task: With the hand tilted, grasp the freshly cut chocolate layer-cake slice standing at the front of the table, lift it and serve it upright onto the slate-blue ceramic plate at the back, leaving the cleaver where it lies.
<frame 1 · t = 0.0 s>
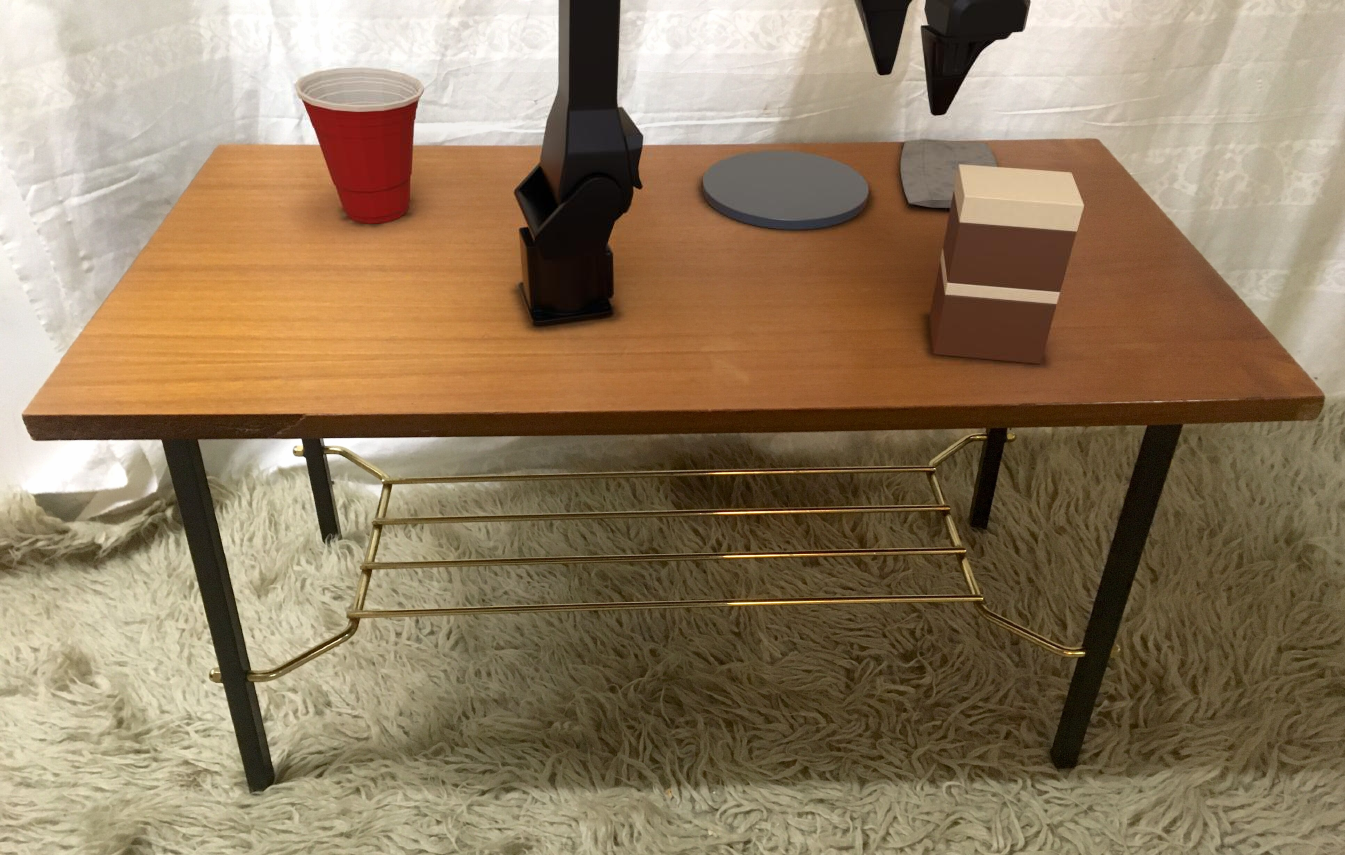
hand: (910, 93, 84), 15 cm above the table, tool pointing down, fingers open, 9 cm apart
cake slice: (983, 340, 82), on the table
plate: (784, 192, 103), on the table
plastic cup: (380, 211, 99), on the table
cleaver: (957, 207, 102), on the table
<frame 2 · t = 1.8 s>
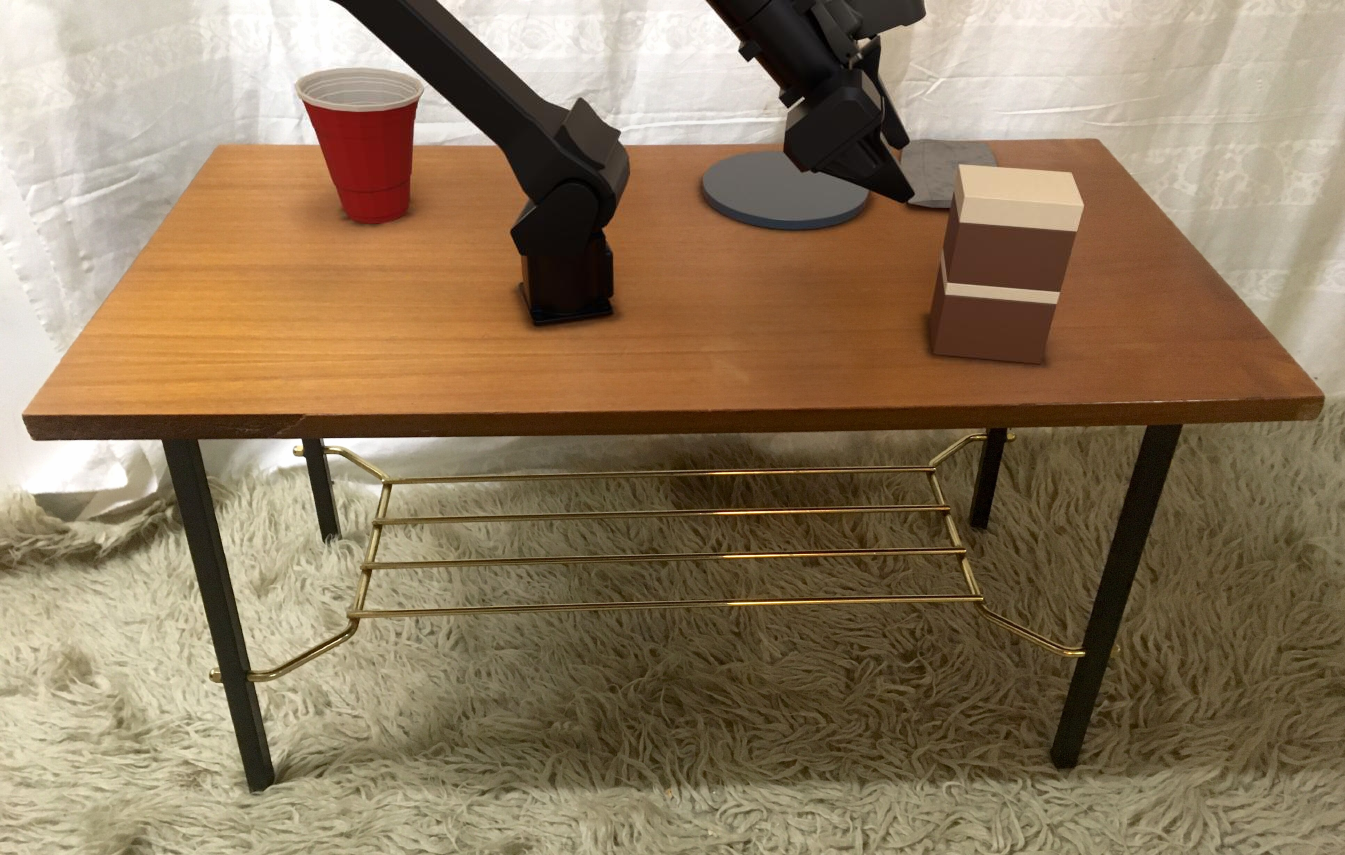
hand: (907, 171, 75), 13 cm above the table, tool tilted 45°, fingers open, 9 cm apart
nothing on the table moved.
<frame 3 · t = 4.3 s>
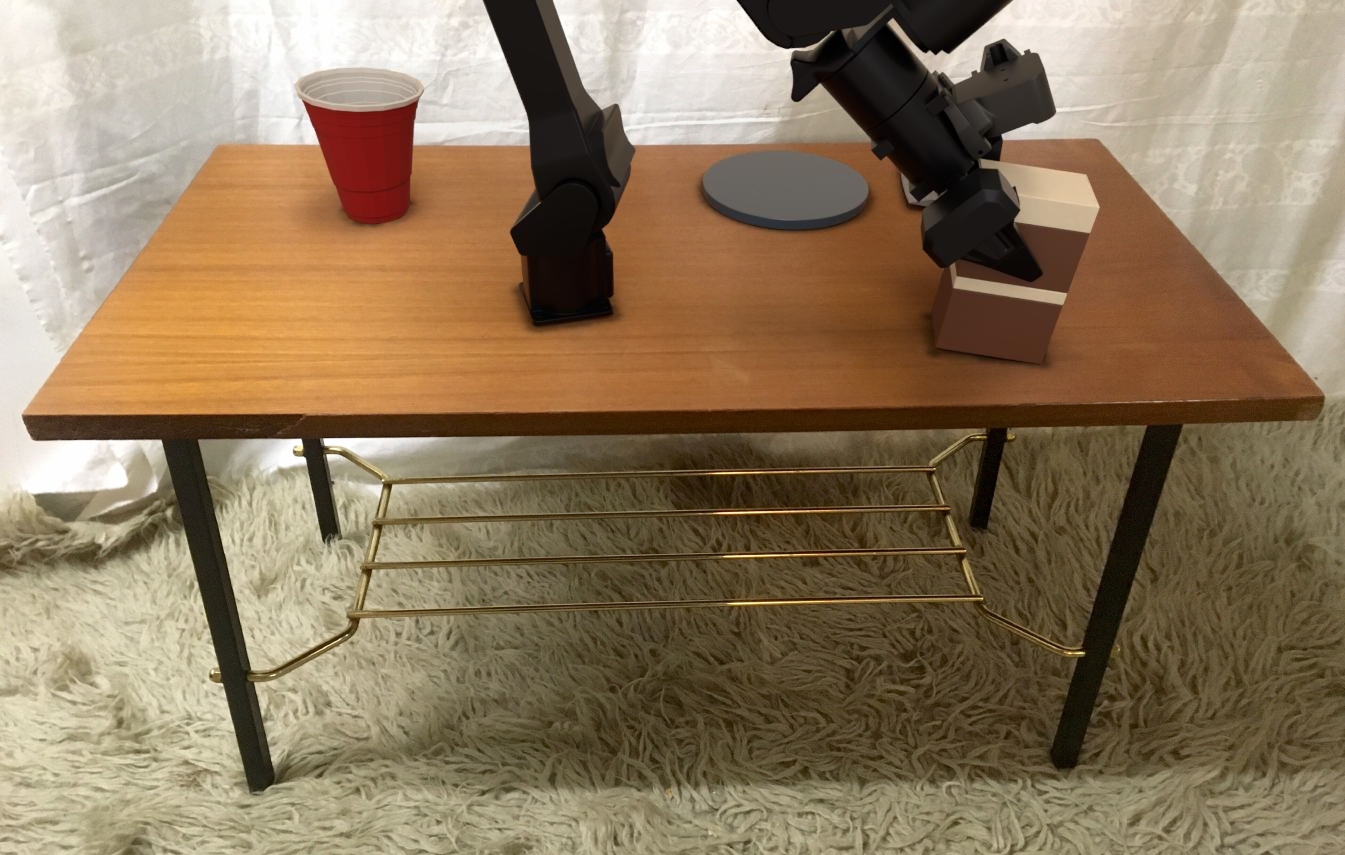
hand: (1030, 254, 77), 8 cm above the table, tool tilted 45°, fingers closed on cake slice, 7 cm apart
cake slice: (984, 337, 82), on the table, touching gripper
everything else where it was.
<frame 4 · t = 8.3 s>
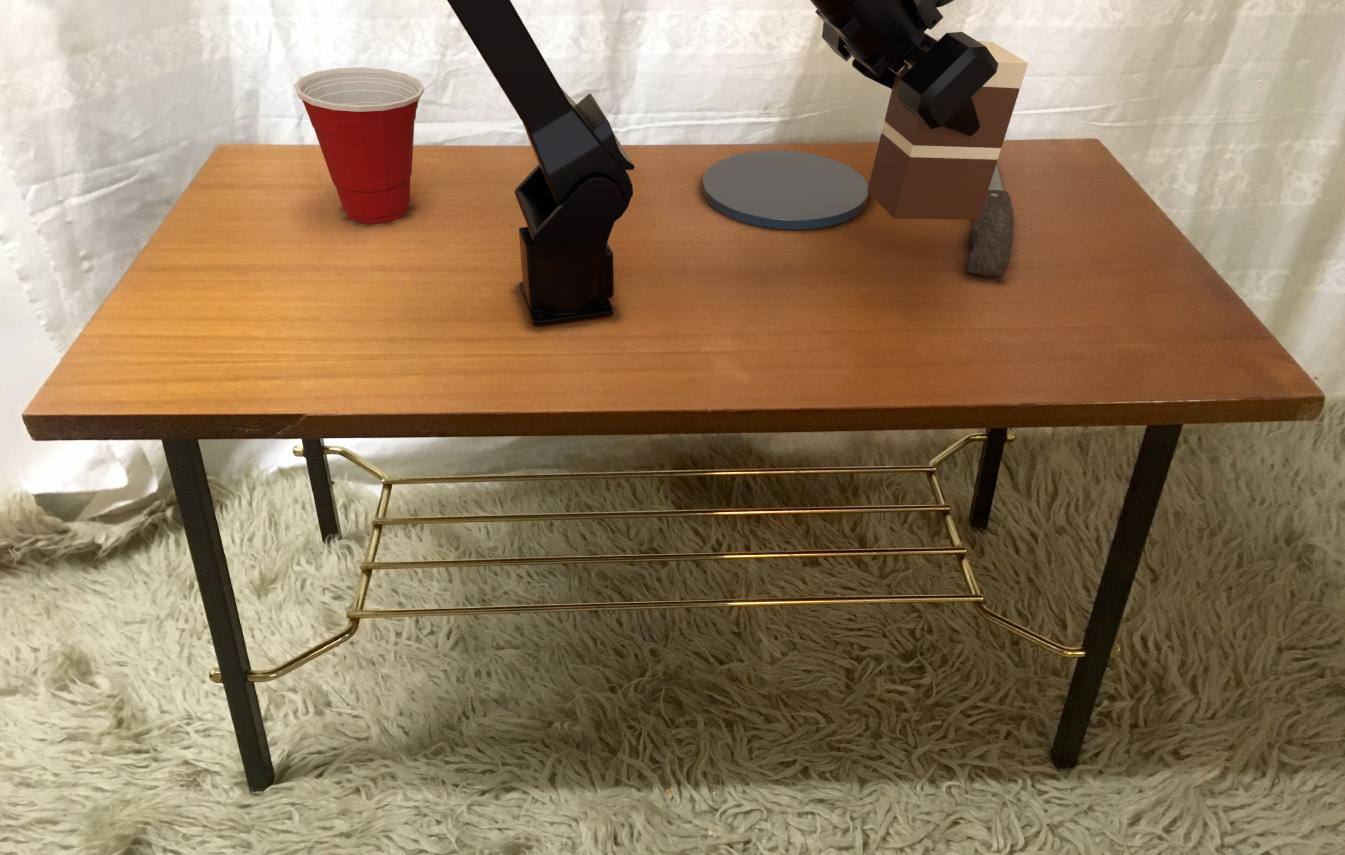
hand: (957, 117, 86), 12 cm above the table, tool tilted 45°, fingers closed on cake slice, 5 cm apart
cake slice: (922, 205, 90), point 5 cm above the table, tilted 7°, touching gripper
everything else where it was.
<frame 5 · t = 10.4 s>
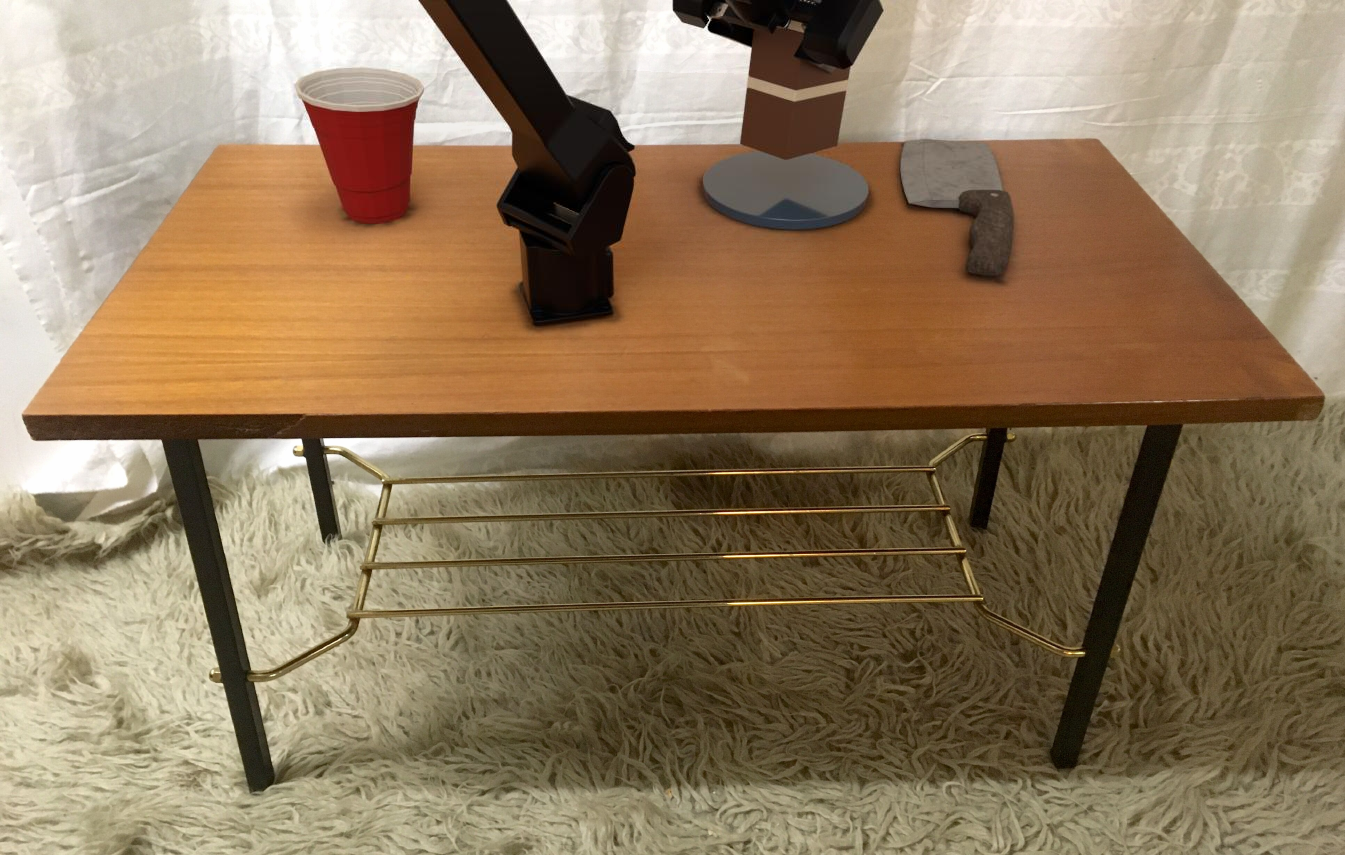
hand: (807, 61, 96), 12 cm above the table, tool tilted 45°, fingers closed on cake slice, 5 cm apart
cake slice: (788, 145, 100), point 5 cm above the table, tilted 7°, touching gripper
everything else where it was.
when the fingers open (9 cm above the table, at t = 12.1 s): cake slice stays where it is, resting on plate.
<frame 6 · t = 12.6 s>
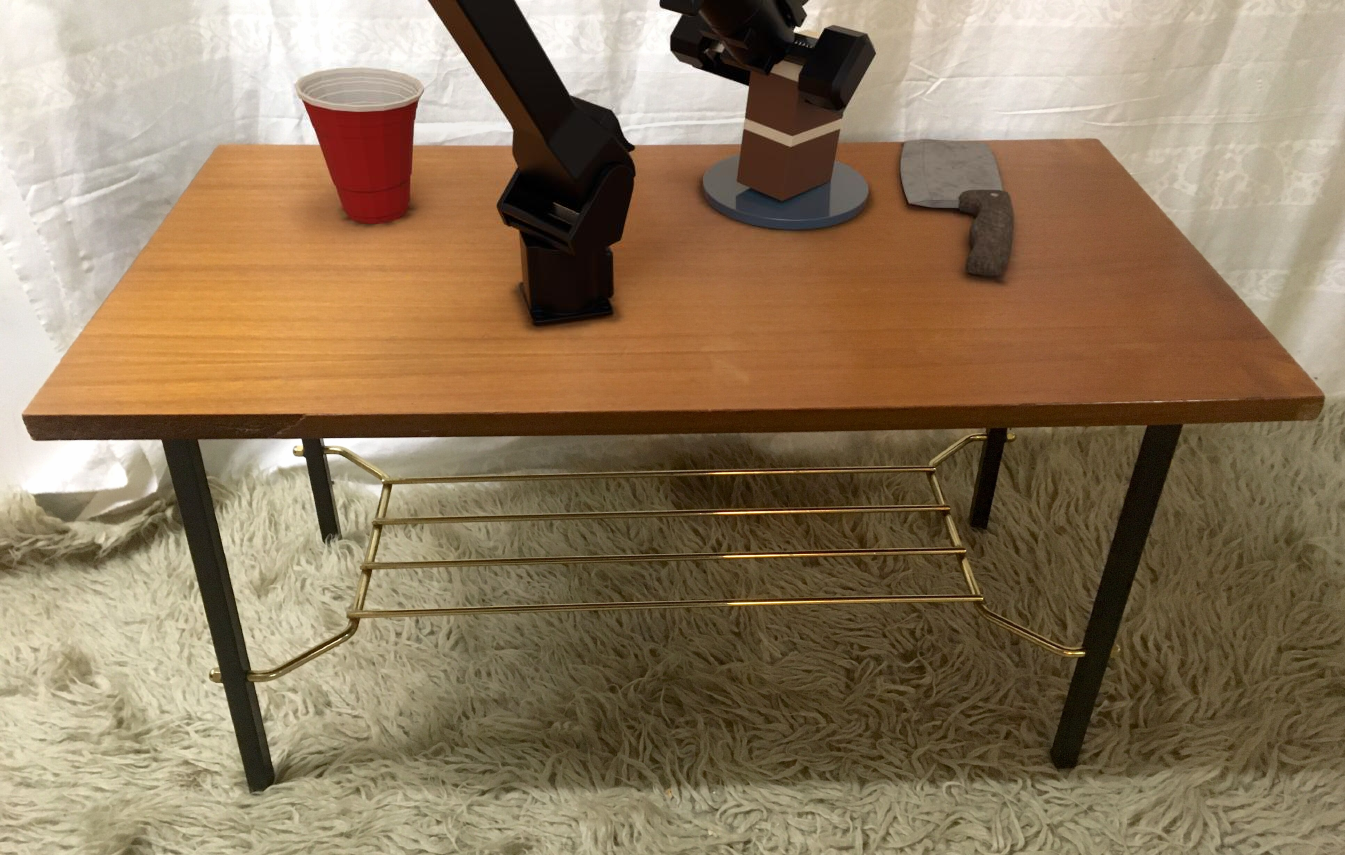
hand: (801, 97, 99), 9 cm above the table, tool tilted 45°, fingers open, 9 cm apart
cake slice: (784, 181, 102), point 1 cm above the table, touching gripper, plate
everything else where it was.
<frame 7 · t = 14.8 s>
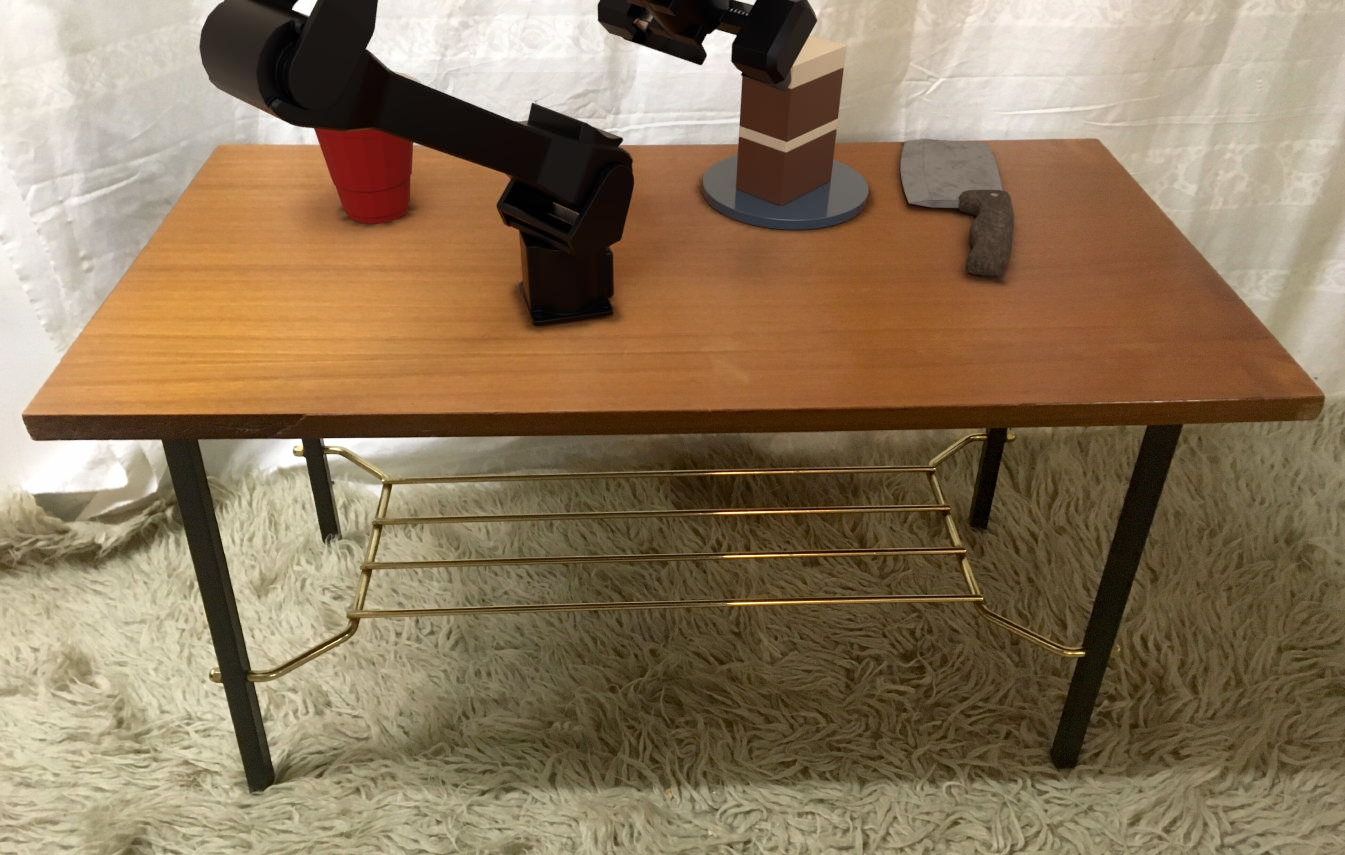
hand: (744, 72, 91), 13 cm above the table, tool tilted 45°, fingers open, 9 cm apart
cake slice: (783, 184, 102), point 1 cm above the table, touching plate
everything else where it was.
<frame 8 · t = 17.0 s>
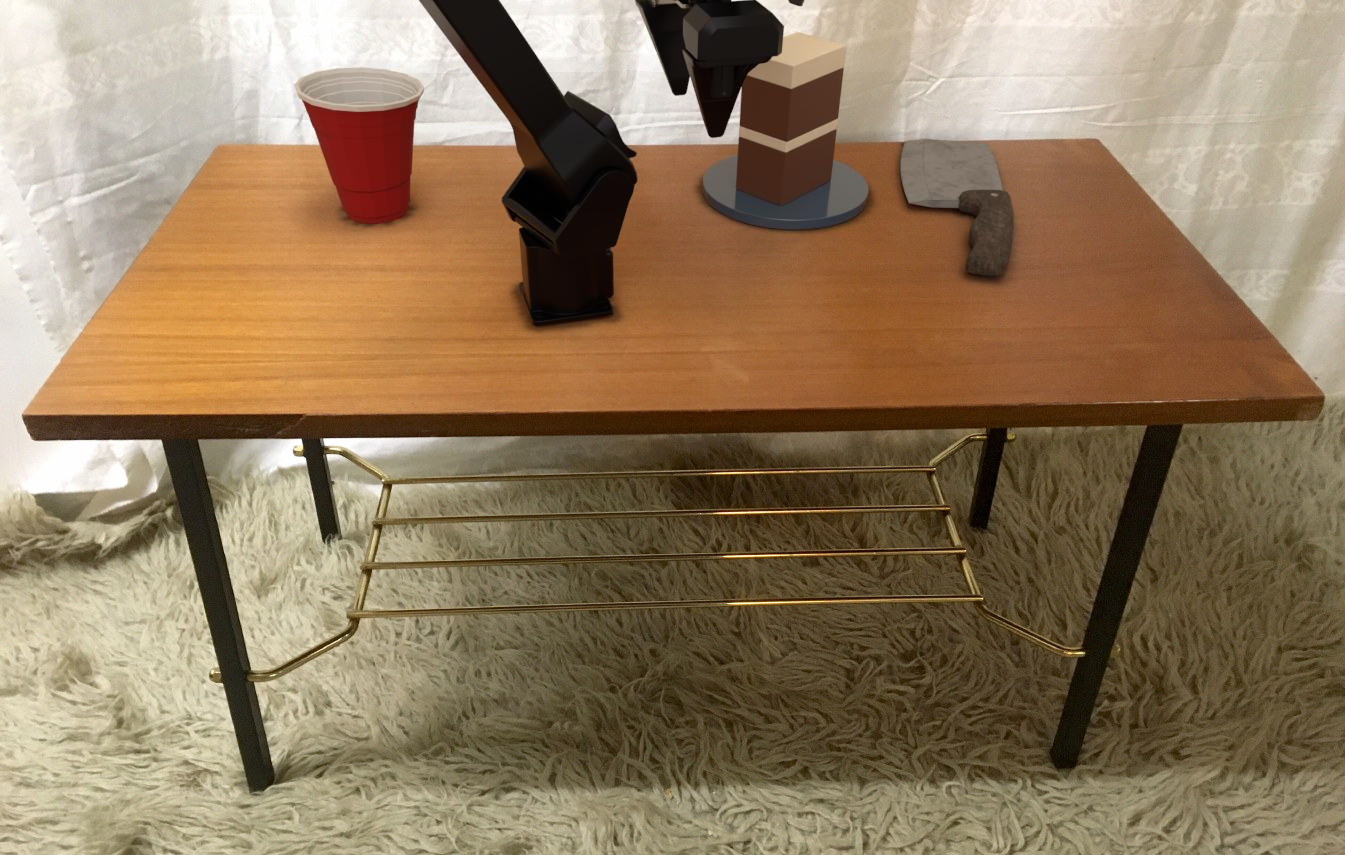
hand: (696, 114, 84), 13 cm above the table, tool pointing down, fingers open, 9 cm apart
nothing on the table moved.
at the end: cake slice inside the target area on the plate (0.5 cm from its centre), point 1.0 cm above the plate's base; cake slice tilted 0°; the gripper is holding nothing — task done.
